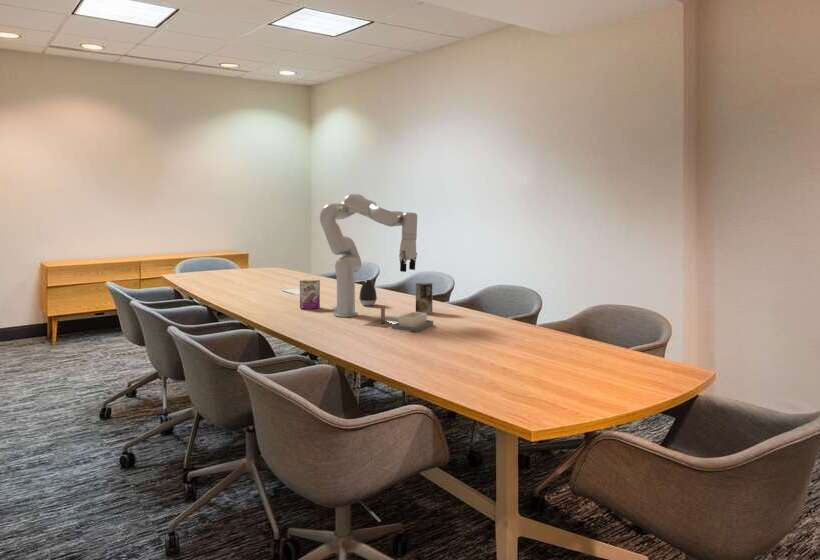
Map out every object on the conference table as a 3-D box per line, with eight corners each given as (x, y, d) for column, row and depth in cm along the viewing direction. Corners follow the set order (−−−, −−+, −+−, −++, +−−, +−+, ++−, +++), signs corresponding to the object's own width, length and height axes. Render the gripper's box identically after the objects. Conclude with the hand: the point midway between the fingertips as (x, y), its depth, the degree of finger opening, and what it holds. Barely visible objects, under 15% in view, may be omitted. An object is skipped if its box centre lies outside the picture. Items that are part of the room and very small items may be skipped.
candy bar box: (299, 309, 343) (299, 280, 341) (300, 307, 348) (299, 279, 345) (320, 308, 344) (319, 280, 342) (320, 307, 349) (319, 279, 347)
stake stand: (362, 326, 298) (362, 310, 297) (379, 320, 313) (379, 304, 312) (386, 329, 292) (386, 312, 291) (402, 322, 308) (402, 307, 307)
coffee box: (432, 311, 337) (433, 283, 335) (431, 314, 331) (432, 284, 329) (416, 311, 338) (416, 282, 336) (415, 313, 332) (415, 284, 330)
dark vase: (357, 304, 361) (357, 278, 358) (375, 303, 363) (375, 278, 361) (360, 307, 351) (360, 280, 349) (378, 306, 353) (378, 280, 351)
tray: (391, 329, 291) (391, 325, 291) (408, 322, 308) (409, 318, 308) (416, 332, 285) (416, 327, 285) (433, 325, 302) (433, 320, 302)
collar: (398, 327, 293) (398, 316, 292) (411, 322, 305) (411, 311, 305) (414, 329, 289) (414, 318, 288) (426, 324, 302) (426, 313, 301)
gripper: (410, 235, 317) (409, 268, 320) (394, 237, 302) (392, 271, 304) (423, 236, 314) (421, 269, 316) (407, 238, 298) (406, 273, 301)
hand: (407, 270), depth 310 cm, fingers open, 9 cm apart
